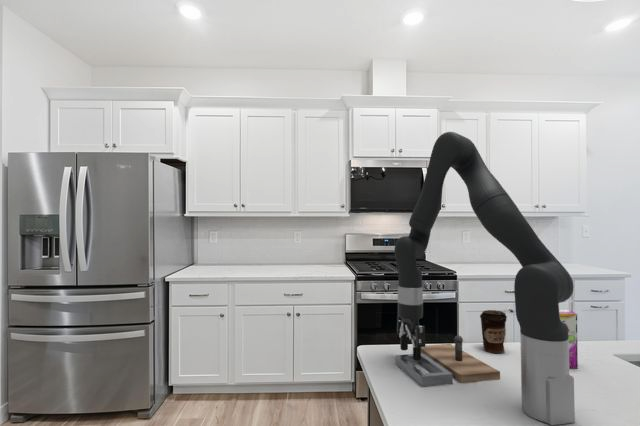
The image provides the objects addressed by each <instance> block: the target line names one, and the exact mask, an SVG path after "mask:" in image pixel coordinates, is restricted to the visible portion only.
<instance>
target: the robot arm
mask: <svg viewBox="0 0 640 426" xmlns="http://www.w3.org/2000/svg"><path fill="white" fill-rule="evenodd" d="M451 168H452V169H453V170H454V171H455V172H456V173H457V174H458V176H459V177H460V178H461V180H462V181H463V183H464V184H465V186H466V189H467V192H468V198H469V203H470V206H471V208H472V210H473V212H474V214H475V216H476V218H478V220H479V222H480V224H481V225H482V226H483V228H484V229H485V230H486V231H487V233H489V234H490V235H491V237H493V238H494V239H495V240H496V241H498V242H499V243H500V244H501V245H503V247H505V248H507V250H509V251H510V252H511V254H513V256H514V257H515V258H516V260H517V261H518V262H519V264H520V265H521V268H520V269H519V270H518V271H517V273H516V275H515V278H514V283H513V287H514V288H513V290H514V291H513V292H514V293H513V294H514V305H515V315H516V320H517V323H518V324H519V328H520V329H519V331H520V334H519V335H520V336H519V337H520V379H521V380H520V381H521V382H520V385H521V387H520V390H521V409H522V411H523V412H524V413H525V415H528V416H529V417H531V418H532V419H535V420H536V421H541V422H542V423H546V424H549V425H550V426H557V425H564V424H572V423H575V422H576V413H575V411H576V409H575V407H576V405H575V378H574V376H573V375H570V368H569V339H568V338H569V335H568V327H567V326H566V325H565V324H564V323H562V322H561V320H560V316H559V310H560V305H559V304H560V303H564V302H566V301H568V300H569V299H570V298H571V297H572V295H573V292H574V281H573V278H572V276H571V274H570V273H569V271H568V270H567V269H566V268H565V267H564V265H563V264H562V263H561V262H560V261H559V260H558V259H557V258H556V257H555V255H554V254H553V253H552V252H551V251H550V250H549V249H548V247H546V246H545V244H544V242H542V240H541V239H540V238H539V236H538V235H537V234H536V232H535V231H534V229H533V227H532V226H531V224H530V223H529V222H528V220H527V219H526V218H525V216H524V215H523V214H522V212H521V211H520V208H518V206H517V205H516V203H515V201H514V200H513V199H512V198H511V196H510V195H509V193H508V192H507V191H506V190H505V188H504V187H503V186H502V184H501V183H500V182H499V180H498V179H497V178H496V177H495V176H494V175H493V173H492V172H491V171H490V169H489V168H488V166H487V165H486V164H485V161H484V160H483V158H482V156H481V154H480V152H479V150H478V149H477V146H476V145H475V144H474V142H473V141H472V140H471V139H469V138H468V137H466V136H464V135H462V134H459V133H457V132H454V131H446V132H444V133H442V134H441V135H440V136H438V137H437V139H436V141H435V142H434V144H433V147H432V151H431V154H430V157H429V162H428V165H427V169H426V173H425V177H424V181H423V184H422V188H421V191H420V194H419V197H418V199H417V202H416V204H415V206H414V208H413V211H412V214H411V215H410V218H409V220H408V221H409V222H408V224H409V225H408V226H409V227H410V231H409V235H407V236H401V237H400V238H397V240H396V242H395V243H394V250H393V251H394V257H395V261H396V262H395V263H396V267H397V271H398V288H397V316H396V334H397V335H399V338H400V342H399V345H400V346H399V347H400V350H401V351H407V350H408V349H409V343H408V342H409V340H410V341H411V344H412V354H413V359H414V360H420V359H421V347H425V346H426V327H425V325H420V322H419V320H420V319H422V318H423V317H424V293H423V274H422V273H423V272H422V270H421V268H420V267H418V265H417V259H420V258H421V257H422V256H423V255H424V254H425V252H426V250H427V249H428V245H429V242H430V237H431V231H432V229H433V226H434V224H435V223H436V220H437V218H438V216H439V214H440V211H441V206H442V203H443V202H442V200H443V186H444V181H445V179H446V176H447V174H448V172H449V170H450V169H451ZM408 338H409V339H408Z"/></svg>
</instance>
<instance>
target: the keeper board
mask: <svg viewBox="0 0 640 426" xmlns="http://www.w3.org/2000/svg"><path fill="white" fill-rule="evenodd" d="M453 341H454V345H453V344H451V343H445V344H428V345H425V347H421V353H423V354H425V355H426V356H428V357H429V358H430V359H432V360H433V361H435V362H436V363H438V364H439V365H440V366H442V367H443V368H445V369H446V370H448V371H449V372H451V373H452V374H453V379H455V381H458V382H459V383H461V384H463V383H464V384H465V383H472V382H484V381H494V380H501V371H500V370H498V369H496V368H494V367H492V366H491V365H489V364H487V363H485V362H483V361H482V360H480V359H478V358H477V357H474V356H473V355H471V354H469V353H467V352H465V351H463V341H464V339H463V337H462V336H461V335H456V336H454V340H453Z"/></svg>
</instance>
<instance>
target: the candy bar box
mask: <svg viewBox="0 0 640 426" xmlns="http://www.w3.org/2000/svg"><path fill="white" fill-rule="evenodd" d="M559 316H560V320H561V322H562V323H564V324H565V325H566V326H567V327H568V335H569V338H568V339H569V369H578V366H579V365H578V313H576V312H574V311H571V310H568V309H559Z"/></svg>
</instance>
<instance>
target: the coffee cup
mask: <svg viewBox="0 0 640 426" xmlns="http://www.w3.org/2000/svg"><path fill="white" fill-rule="evenodd" d="M479 318H480V324H481V325H480V326H481V335H482V345H483V350H484V351H486V352H489V353H493V354H503V353H505V345H504V344H505V340H506V331H507V330H506V322H507V318H508V316H507V315H506V313H505V312H504V311H501V310H496V309H494V310H493V309H491V310H490V309H487V310H483V311H482V313H480V315H479Z"/></svg>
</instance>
